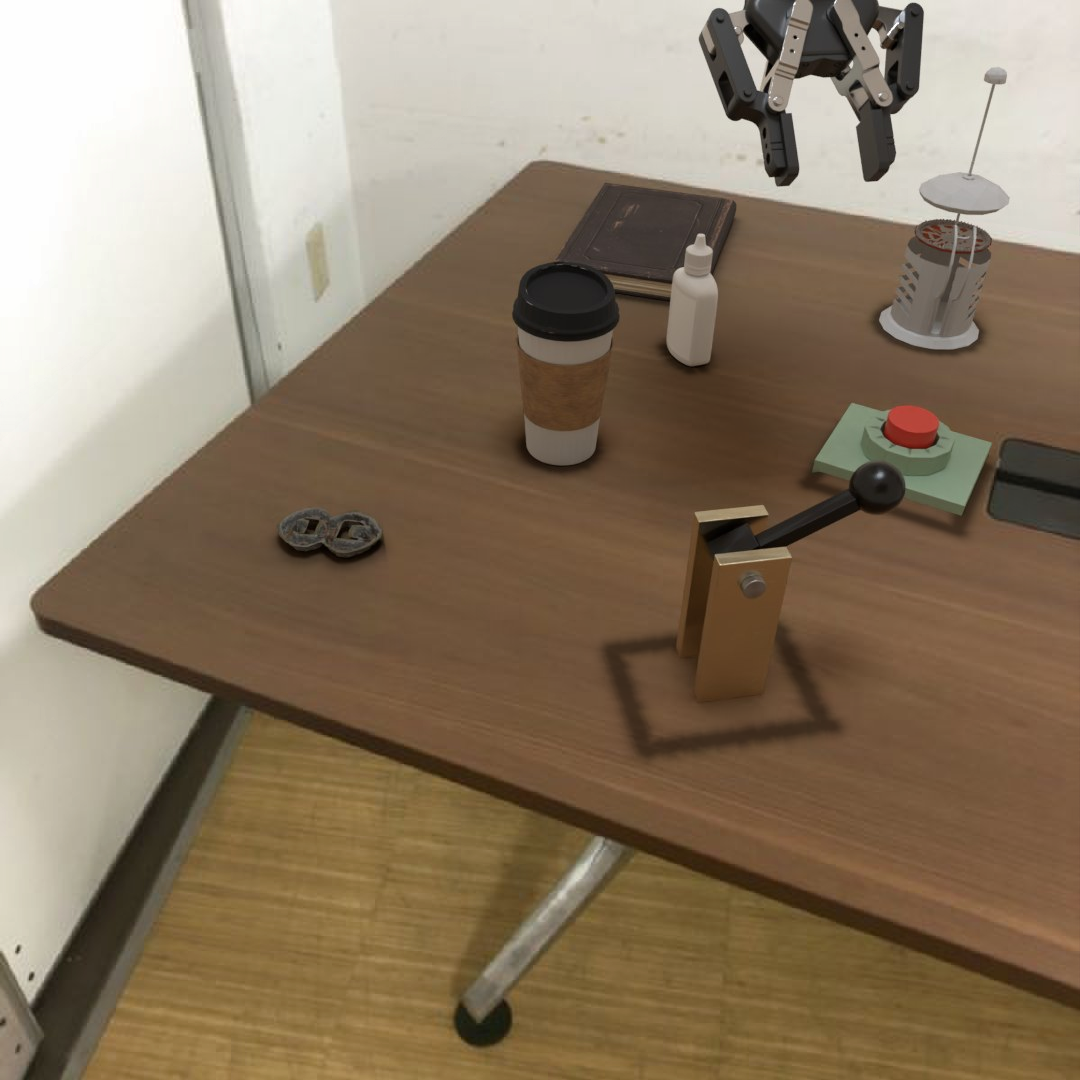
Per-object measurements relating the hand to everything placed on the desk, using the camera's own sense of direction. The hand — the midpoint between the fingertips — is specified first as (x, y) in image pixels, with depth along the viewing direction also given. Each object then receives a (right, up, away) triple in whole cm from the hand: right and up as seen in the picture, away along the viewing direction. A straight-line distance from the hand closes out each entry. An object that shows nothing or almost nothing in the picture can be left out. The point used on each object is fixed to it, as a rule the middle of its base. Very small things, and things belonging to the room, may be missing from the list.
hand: (833, 177), depth 67 cm
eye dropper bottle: (-3, -4, +41) cm, 41 cm away
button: (+12, -13, +24) cm, 30 cm away
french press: (+21, -1, +45) cm, 50 cm away
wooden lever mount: (-6, -31, +7) cm, 33 cm away
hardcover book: (-6, +11, +58) cm, 59 cm away
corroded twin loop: (-33, -22, +18) cm, 44 cm away
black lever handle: (-1, -22, 0) cm, 22 cm away
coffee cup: (-16, -14, +28) cm, 35 cm away
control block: (+12, -16, +26) cm, 33 cm away
